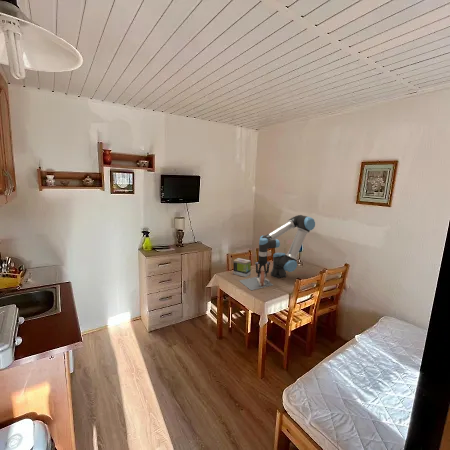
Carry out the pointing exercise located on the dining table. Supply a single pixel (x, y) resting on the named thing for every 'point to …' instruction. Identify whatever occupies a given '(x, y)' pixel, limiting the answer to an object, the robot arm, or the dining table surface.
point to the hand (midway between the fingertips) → (261, 280)
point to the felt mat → (253, 283)
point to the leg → (261, 279)
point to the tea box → (242, 267)
